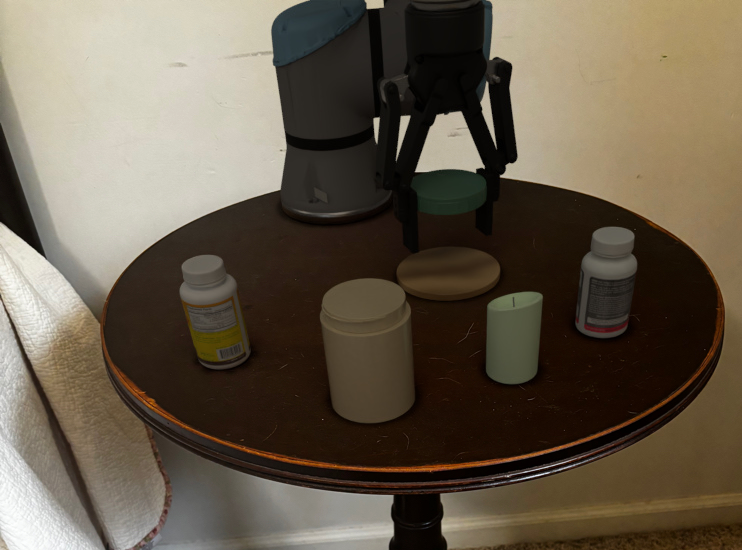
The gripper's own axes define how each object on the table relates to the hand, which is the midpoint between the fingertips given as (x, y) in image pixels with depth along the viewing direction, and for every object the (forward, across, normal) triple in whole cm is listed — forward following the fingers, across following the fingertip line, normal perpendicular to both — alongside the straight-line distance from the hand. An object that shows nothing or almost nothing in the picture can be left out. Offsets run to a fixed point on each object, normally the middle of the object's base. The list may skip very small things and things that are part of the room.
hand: (447, 239), depth 90 cm
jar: (+5, +17, +19) cm, 26 cm away
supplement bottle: (+5, +28, +5) cm, 29 cm away
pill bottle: (+5, -9, +18) cm, 21 cm away
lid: (-6, 0, 0) cm, 6 cm away
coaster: (+4, 0, 0) cm, 4 cm away
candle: (+5, +3, +21) cm, 22 cm away
